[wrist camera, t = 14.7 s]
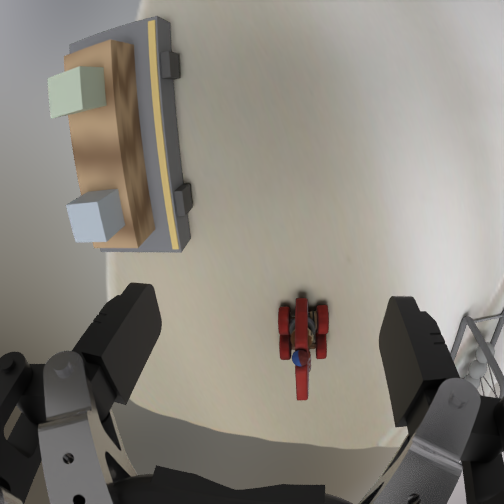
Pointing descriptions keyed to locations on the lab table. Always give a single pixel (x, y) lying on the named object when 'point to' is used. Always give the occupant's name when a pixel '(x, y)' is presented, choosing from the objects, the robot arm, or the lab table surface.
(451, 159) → the lab table surface
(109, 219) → the block
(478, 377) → the newton's cradle
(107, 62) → the tan wooden bar
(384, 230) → the lab table surface
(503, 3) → the lab table surface
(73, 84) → the block
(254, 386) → the lab table surface
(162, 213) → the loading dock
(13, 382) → the robot arm
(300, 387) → the toy fire truck
